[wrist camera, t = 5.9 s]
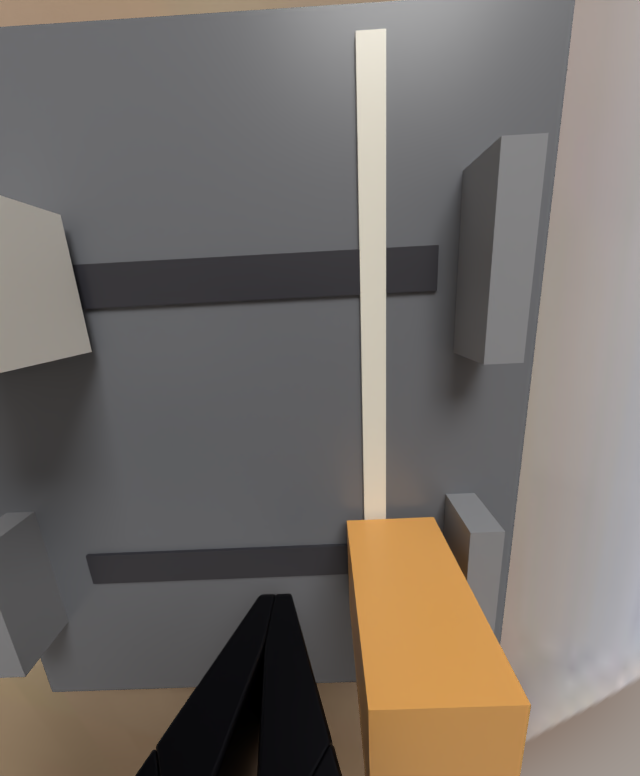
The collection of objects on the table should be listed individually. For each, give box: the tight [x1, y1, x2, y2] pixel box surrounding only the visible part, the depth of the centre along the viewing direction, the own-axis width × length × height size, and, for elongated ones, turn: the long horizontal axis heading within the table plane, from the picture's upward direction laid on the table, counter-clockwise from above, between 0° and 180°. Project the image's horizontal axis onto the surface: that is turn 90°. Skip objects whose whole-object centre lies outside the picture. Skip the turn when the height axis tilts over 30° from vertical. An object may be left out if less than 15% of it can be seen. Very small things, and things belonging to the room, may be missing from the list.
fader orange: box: [347, 517, 531, 776], centre depth 7 cm, size 3×2×4 cm
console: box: [0, 0, 575, 692], centre depth 9 cm, size 18×15×4 cm
